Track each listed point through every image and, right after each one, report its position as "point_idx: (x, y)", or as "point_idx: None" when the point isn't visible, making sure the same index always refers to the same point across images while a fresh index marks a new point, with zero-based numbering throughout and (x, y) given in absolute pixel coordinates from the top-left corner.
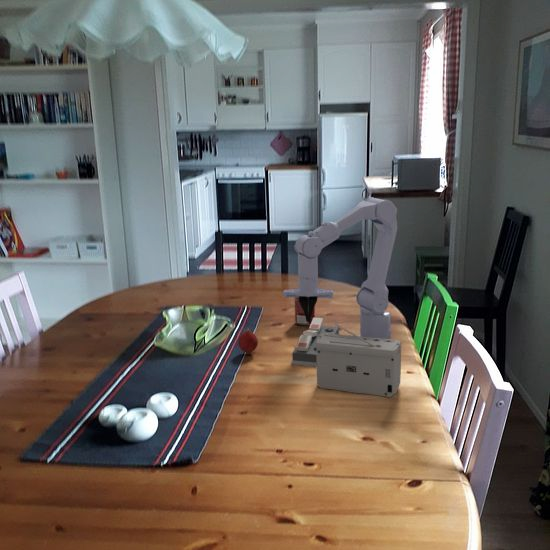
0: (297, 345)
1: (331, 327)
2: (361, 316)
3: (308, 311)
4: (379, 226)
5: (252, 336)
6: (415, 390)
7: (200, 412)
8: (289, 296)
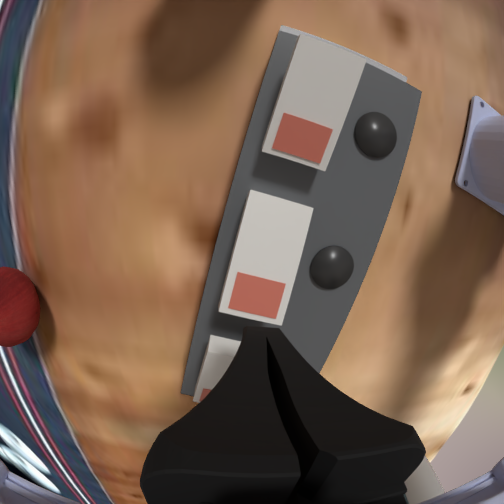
0: (197, 397)
1: (388, 93)
2: None
3: (266, 359)
4: None
5: (7, 339)
6: (432, 443)
7: (78, 480)
8: (36, 498)
